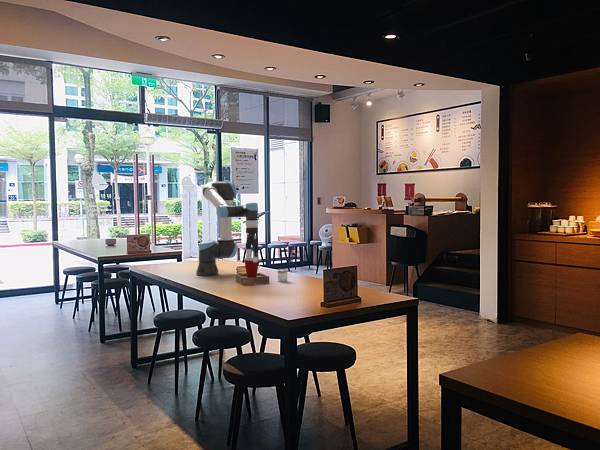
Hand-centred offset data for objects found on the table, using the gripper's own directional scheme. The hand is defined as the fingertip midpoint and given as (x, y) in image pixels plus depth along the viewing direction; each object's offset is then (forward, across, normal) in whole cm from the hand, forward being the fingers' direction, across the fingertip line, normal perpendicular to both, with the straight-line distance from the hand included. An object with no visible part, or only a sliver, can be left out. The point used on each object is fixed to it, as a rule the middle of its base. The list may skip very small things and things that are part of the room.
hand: (251, 260), depth 322 cm
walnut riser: (+14, 0, 0) cm, 14 cm away
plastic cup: (+11, 0, 0) cm, 11 cm away
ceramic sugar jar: (+13, -4, -19) cm, 24 cm away
